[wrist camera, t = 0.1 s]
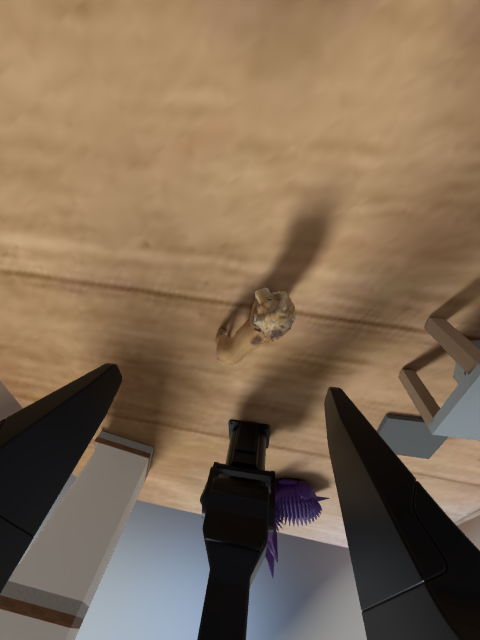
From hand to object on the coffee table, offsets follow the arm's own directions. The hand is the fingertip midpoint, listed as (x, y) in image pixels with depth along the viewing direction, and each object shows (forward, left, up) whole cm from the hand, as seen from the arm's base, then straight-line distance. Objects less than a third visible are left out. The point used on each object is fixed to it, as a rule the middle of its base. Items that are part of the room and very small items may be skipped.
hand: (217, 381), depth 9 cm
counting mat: (-23, -22, -14) cm, 35 cm away
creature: (-45, -6, -15) cm, 47 cm away
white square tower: (-41, +26, -14) cm, 51 cm away
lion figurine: (-5, 0, -14) cm, 15 cm away
